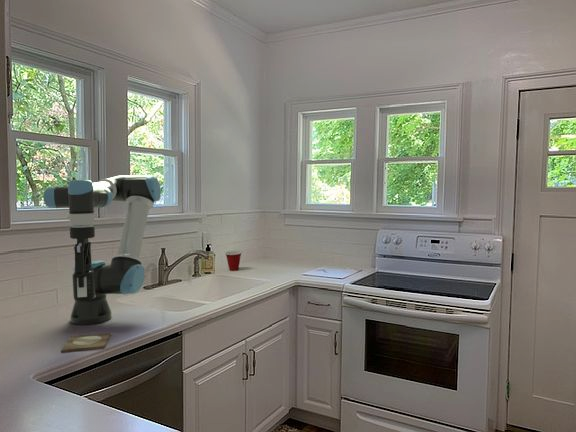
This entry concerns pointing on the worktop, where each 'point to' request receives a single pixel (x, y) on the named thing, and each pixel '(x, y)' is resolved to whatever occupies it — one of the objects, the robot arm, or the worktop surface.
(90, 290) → the supplement bottle
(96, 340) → the board
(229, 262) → the plastic cup
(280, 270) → the worktop surface
